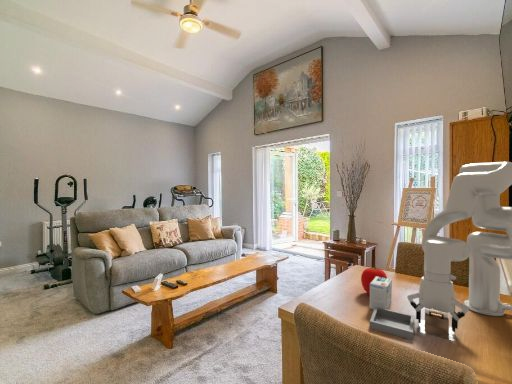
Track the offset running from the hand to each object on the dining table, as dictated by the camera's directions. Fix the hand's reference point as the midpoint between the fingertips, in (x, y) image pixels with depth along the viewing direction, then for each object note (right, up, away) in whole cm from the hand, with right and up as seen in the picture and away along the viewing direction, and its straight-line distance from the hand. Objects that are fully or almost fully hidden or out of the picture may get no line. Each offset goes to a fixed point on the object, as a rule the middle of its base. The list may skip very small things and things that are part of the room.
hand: (435, 325), depth 90 cm
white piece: (0, -2, 0) cm, 2 cm away
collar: (0, -1, 0) cm, 1 cm away
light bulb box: (-9, -2, +20) cm, 22 cm away
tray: (-13, -2, +3) cm, 14 cm away
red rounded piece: (-7, -2, +31) cm, 32 cm away
